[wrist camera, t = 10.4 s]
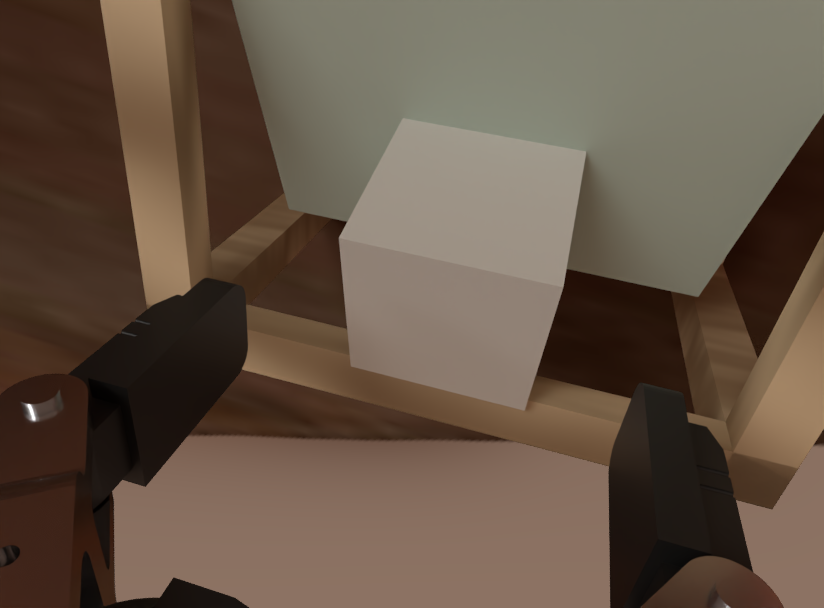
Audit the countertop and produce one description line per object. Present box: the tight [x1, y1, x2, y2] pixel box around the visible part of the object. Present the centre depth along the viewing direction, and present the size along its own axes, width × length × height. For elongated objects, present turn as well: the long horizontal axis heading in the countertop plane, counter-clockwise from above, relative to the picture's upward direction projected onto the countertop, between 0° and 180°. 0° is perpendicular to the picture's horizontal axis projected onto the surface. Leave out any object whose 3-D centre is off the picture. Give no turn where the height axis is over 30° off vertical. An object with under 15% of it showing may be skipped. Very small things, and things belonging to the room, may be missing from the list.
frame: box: [100, 0, 824, 509], centre depth 19 cm, size 16×19×13 cm
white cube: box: [339, 118, 586, 411], centre depth 17 cm, size 5×5×5 cm
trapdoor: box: [232, 0, 824, 297], centre depth 16 cm, size 12×15×1 cm
